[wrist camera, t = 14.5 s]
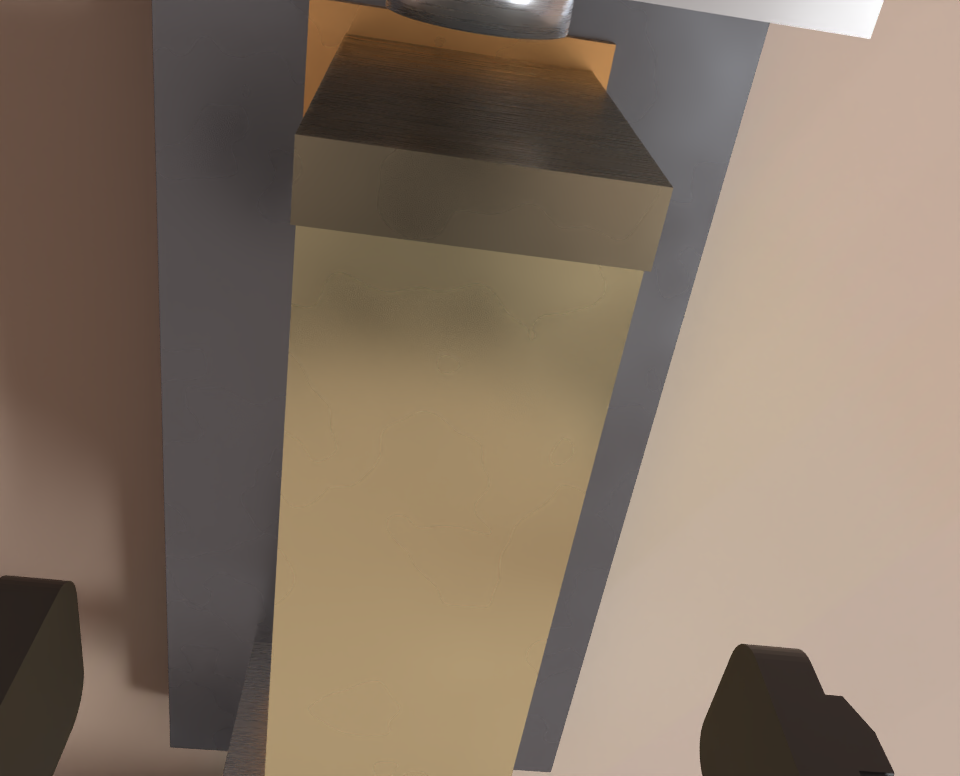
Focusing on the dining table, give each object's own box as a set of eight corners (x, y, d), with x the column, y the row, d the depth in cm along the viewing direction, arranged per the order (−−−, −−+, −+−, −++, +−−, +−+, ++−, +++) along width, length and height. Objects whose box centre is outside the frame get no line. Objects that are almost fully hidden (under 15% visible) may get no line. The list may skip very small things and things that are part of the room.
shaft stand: (168, -509, 13) (-314, -1152, 5) (846, -364, 14) (1437, -671, 6) (184, 713, 25) (61, 1129, 17) (541, 737, 26) (588, 1140, 18)
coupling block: (481, 603, 21) (496, 850, 16) (303, 587, 21) (257, 837, 16) (592, 71, 15) (673, 187, 10) (345, 32, 15) (295, 134, 10)
